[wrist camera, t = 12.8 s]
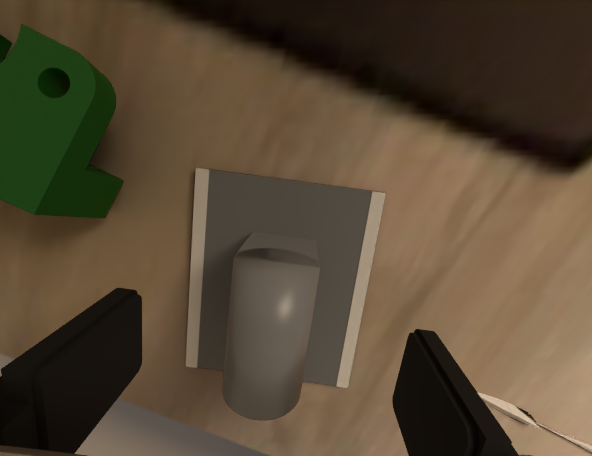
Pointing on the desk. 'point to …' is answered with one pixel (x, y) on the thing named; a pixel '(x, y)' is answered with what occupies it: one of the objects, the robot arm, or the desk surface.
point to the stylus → (527, 418)
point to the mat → (292, 223)
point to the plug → (269, 324)
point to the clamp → (53, 129)
